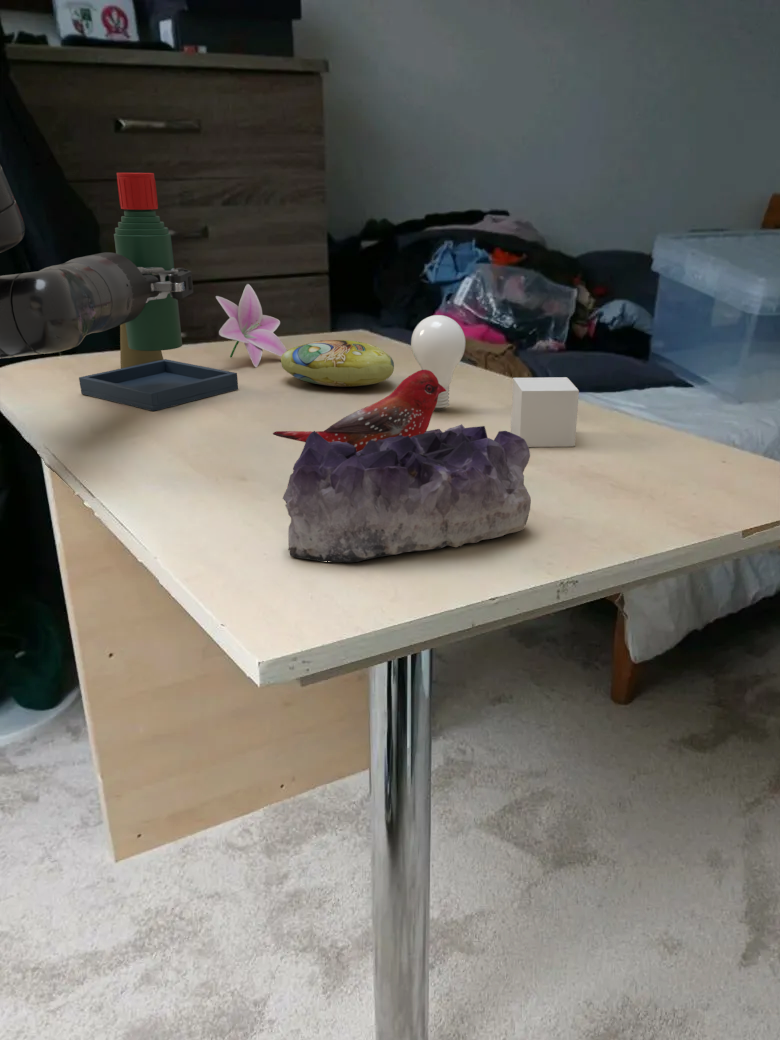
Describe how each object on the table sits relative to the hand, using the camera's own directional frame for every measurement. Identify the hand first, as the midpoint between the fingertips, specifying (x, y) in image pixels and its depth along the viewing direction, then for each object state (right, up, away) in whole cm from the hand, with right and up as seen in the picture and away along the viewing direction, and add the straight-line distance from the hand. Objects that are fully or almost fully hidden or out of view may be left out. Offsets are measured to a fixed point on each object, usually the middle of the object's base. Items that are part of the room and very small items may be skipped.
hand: (154, 276), depth 115 cm
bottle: (0, -8, +1) cm, 8 cm away
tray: (0, -13, +4) cm, 14 cm away
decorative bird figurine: (+28, -29, -26) cm, 48 cm away
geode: (+33, -35, -38) cm, 61 cm away
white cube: (+46, -22, -12) cm, 53 cm away
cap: (0, +6, -5) cm, 8 cm away
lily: (+8, -5, +21) cm, 23 cm away
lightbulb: (+35, -17, -2) cm, 39 cm away
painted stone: (+22, -11, +9) cm, 26 cm away
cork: (-6, -8, +15) cm, 18 cm away
